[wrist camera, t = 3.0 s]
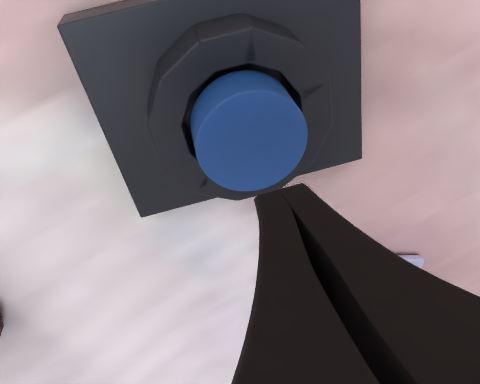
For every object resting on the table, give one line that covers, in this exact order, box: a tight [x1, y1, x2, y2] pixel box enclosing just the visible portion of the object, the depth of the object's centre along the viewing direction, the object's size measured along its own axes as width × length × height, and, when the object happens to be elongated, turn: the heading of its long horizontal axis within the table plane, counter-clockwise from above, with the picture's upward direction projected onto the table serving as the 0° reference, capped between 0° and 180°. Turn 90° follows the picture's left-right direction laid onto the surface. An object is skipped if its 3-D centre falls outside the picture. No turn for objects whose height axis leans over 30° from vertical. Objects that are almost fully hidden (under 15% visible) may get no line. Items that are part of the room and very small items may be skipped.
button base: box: [57, 0, 362, 217], centre depth 17 cm, size 11×9×4 cm
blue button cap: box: [190, 70, 308, 191], centre depth 15 cm, size 4×4×2 cm
